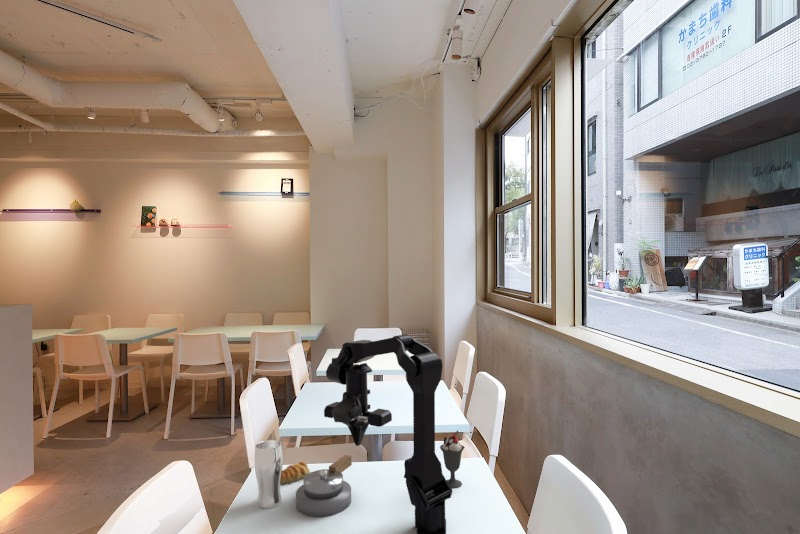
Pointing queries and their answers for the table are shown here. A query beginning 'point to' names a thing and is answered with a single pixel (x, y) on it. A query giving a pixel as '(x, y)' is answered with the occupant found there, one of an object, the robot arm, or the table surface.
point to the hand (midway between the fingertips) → (357, 445)
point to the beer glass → (268, 472)
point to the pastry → (294, 473)
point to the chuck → (326, 480)
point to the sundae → (452, 458)
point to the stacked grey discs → (323, 503)
